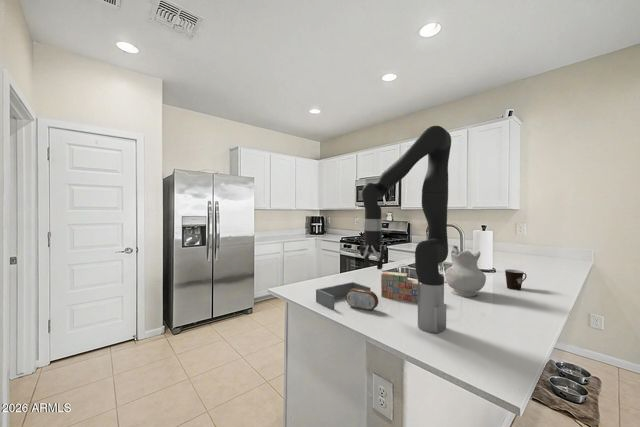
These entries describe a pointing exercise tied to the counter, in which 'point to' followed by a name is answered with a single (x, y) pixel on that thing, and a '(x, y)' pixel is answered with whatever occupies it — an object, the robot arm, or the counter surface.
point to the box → (336, 293)
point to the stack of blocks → (398, 286)
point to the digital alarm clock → (362, 299)
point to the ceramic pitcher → (465, 273)
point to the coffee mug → (514, 279)
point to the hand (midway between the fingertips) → (373, 267)
